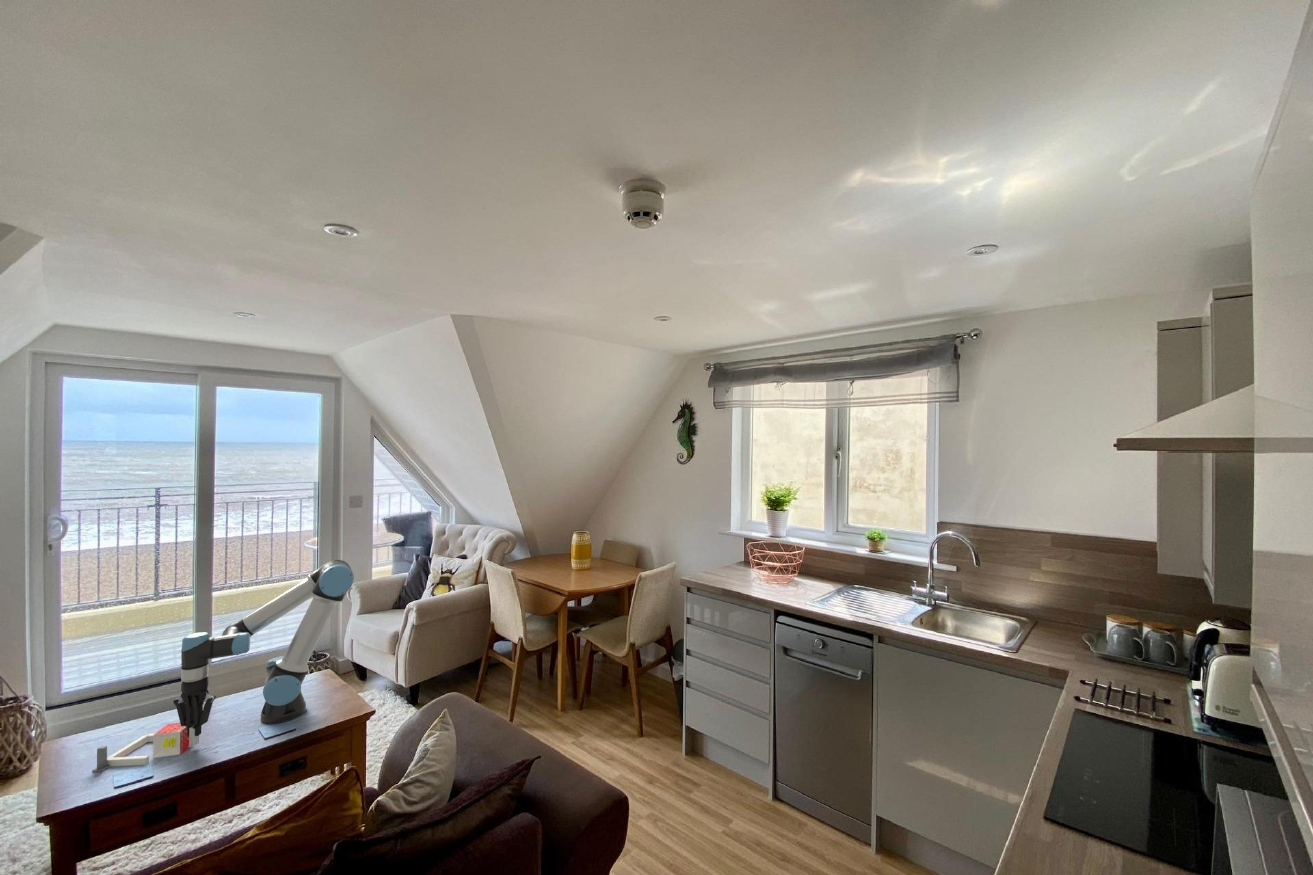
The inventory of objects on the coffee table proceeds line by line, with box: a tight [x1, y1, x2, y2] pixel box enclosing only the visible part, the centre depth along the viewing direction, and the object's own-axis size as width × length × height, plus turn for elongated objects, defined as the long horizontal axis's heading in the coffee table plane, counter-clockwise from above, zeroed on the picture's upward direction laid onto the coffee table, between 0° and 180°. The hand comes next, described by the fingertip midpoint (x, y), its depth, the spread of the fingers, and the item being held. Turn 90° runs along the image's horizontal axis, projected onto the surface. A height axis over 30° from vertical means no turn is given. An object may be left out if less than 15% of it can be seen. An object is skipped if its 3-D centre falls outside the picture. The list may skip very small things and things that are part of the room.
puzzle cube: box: [152, 722, 190, 759], centre depth 194 cm, size 8×8×8 cm
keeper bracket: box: [91, 733, 155, 773], centre depth 192 cm, size 14×20×7 cm
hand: (194, 744), depth 195 cm, fingers closed
